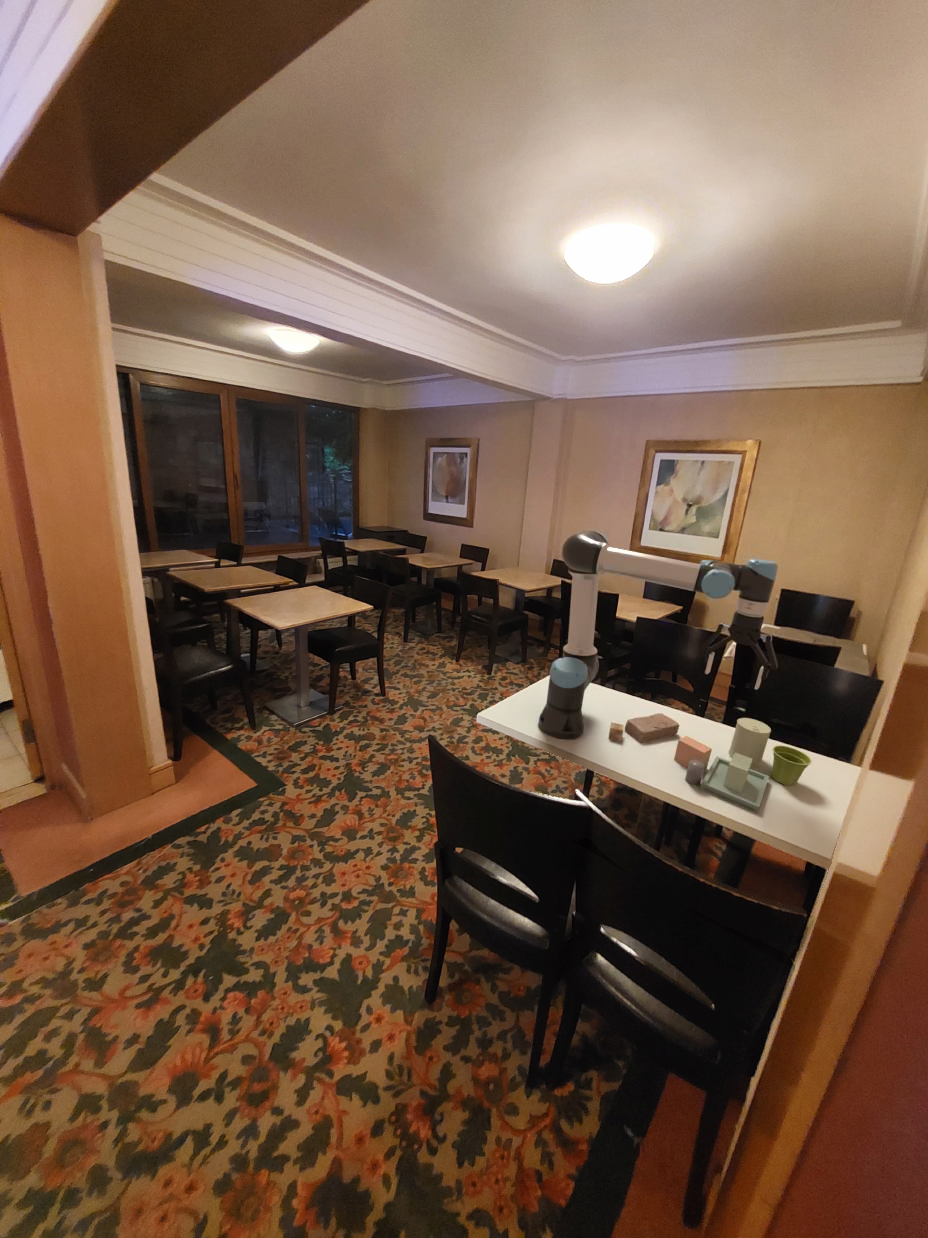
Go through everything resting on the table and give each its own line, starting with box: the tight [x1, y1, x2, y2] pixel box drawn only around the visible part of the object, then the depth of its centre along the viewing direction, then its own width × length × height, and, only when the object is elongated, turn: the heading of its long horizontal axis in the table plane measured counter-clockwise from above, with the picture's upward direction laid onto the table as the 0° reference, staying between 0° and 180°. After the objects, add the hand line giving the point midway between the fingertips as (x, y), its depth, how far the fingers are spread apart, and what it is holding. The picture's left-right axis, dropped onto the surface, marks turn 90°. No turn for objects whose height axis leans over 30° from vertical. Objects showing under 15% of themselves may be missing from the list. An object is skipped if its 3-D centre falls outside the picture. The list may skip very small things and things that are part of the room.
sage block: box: [723, 753, 752, 793], centre depth 131 cm, size 4×8×7 cm, turn 140°
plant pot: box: [771, 744, 813, 787], centre depth 135 cm, size 9×9×9 cm
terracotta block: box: [673, 735, 713, 771], centre depth 140 cm, size 4×8×7 cm, turn 35°
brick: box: [624, 712, 680, 743], centre depth 157 cm, size 16×8×5 cm, turn 112°
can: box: [728, 717, 772, 767], centre depth 145 cm, size 9×9×12 cm
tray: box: [699, 755, 770, 814], centre depth 132 cm, size 14×18×2 cm
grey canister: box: [684, 760, 705, 787], centre depth 132 cm, size 4×4×6 cm
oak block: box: [608, 721, 625, 742], centre depth 153 cm, size 4×4×4 cm
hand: (731, 680), depth 140 cm, fingers open, 13 cm apart
